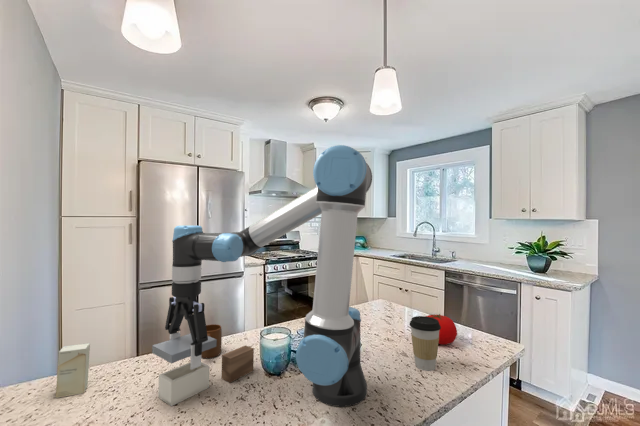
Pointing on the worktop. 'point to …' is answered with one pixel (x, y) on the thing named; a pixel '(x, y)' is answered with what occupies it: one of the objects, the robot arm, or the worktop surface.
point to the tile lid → (179, 348)
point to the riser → (237, 363)
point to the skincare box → (72, 370)
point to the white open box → (182, 383)
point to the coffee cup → (425, 341)
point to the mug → (215, 333)
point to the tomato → (445, 329)
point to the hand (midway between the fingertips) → (184, 361)
